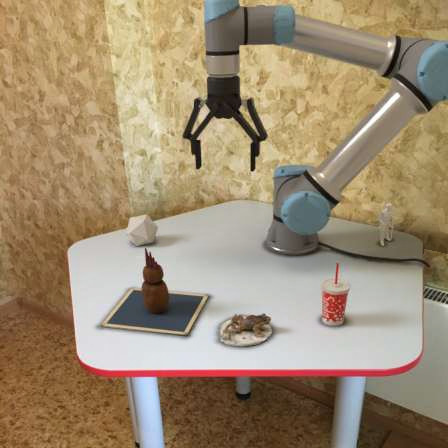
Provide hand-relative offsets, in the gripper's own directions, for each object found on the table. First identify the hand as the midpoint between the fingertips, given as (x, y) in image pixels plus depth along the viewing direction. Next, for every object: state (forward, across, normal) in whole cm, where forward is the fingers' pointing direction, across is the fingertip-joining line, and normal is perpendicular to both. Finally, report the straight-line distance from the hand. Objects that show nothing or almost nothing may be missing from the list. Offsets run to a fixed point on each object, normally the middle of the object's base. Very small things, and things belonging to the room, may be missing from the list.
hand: (225, 169), depth 130 cm
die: (+27, +29, -12) cm, 41 cm away
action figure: (+27, -41, -25) cm, 55 cm away
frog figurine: (+27, -11, +30) cm, 42 cm away
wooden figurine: (+26, +11, +26) cm, 38 cm away
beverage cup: (+27, -29, +22) cm, 45 cm away
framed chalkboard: (+27, +11, +26) cm, 39 cm away
